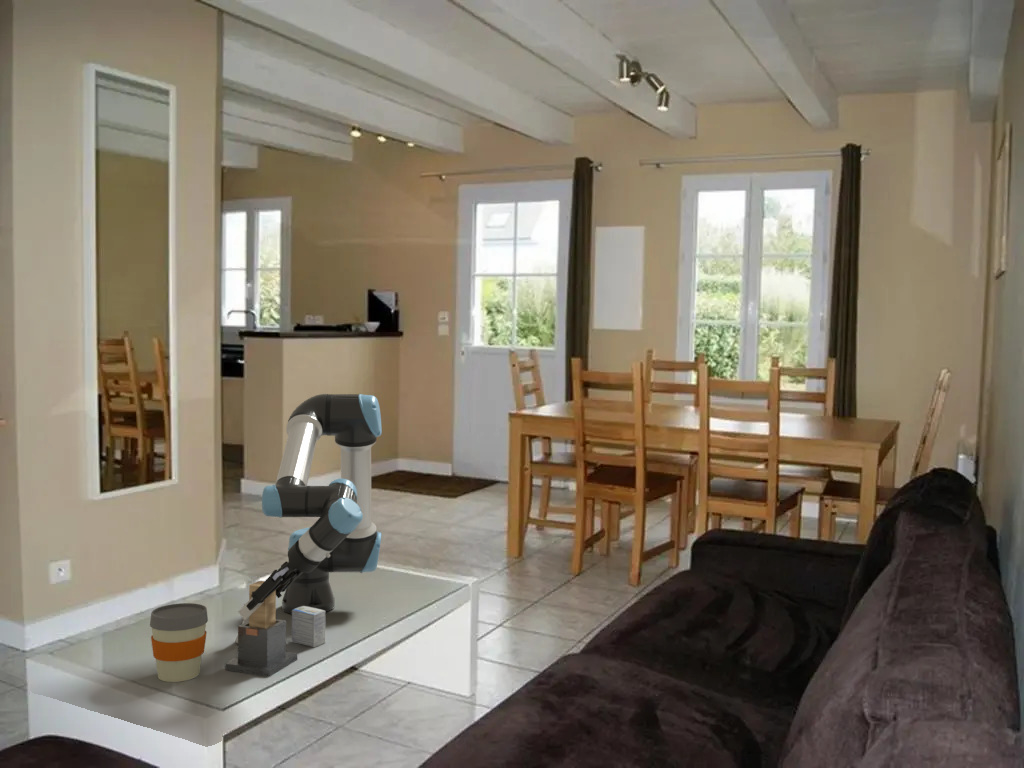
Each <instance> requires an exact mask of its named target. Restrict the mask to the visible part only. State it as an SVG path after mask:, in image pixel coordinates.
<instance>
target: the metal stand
mask: <svg viewBox="0 0 1024 768" xmlns="http://www.w3.org/2000/svg"><path fill="white" fill-rule="evenodd" d="M237 636H238V644H237V657H234V658H233V659H232V660H229V661H227V662H226V663H224V665H225V666H224V668H225V671H229V672H230V671H231V672H238V673H245V674H250V675H258V676H264V677H271V676H273V675H274V674H276V673H278V672H279V671H281V670H283V669H284V668H286V667H288V666H289V665H291V664H292V663H294V662H295V661H298V653H295V652H288V651H287V620H285V619H276V621H275V624H274V625H272V626H270V627H268V628H258V627H251V626H249V621H248V622H246V623H244V624H242V623H241V624H240V625H237Z"/></svg>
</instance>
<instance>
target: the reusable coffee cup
mask: <svg viewBox="0 0 1024 768" xmlns="http://www.w3.org/2000/svg"><path fill="white" fill-rule="evenodd" d="M208 622H209V618H208V610H207V606H206V605H203V604H201V603H200V604H199V603H192V602H191V603H190V602H185V603H184V602H182V603H173V604H167V605H161V606H160V607H157V608H155V609H153V610H151V613H150V622H149V627H151V632H152V633H151V634H152V635H151V636H150V641H151V647H152V654H153V655H152V656H153V658H154V659H155V663H156V670H157V677H158V679H159V680H160V681H163V682H167V683H175V682H176V683H177V682H185V681H190V680H191V679H192V680H193V679H194V678H196V677H198V676H199V675H200V670H201V662H202V655H203V654H204V652H205V647H206V641H207V631H206V627H207V623H208Z"/></svg>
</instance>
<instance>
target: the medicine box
mask: <svg viewBox="0 0 1024 768" xmlns="http://www.w3.org/2000/svg"><path fill="white" fill-rule="evenodd" d="M291 642H292V643H295V644H300V645H303V646H307V647H312V648H316V647H319V646H321V645H323V644H325V643H326V612H325V610H321V609H317V608H312V607H307V606H301V607H298V608H295V609H293V610H292V614H291Z"/></svg>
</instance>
